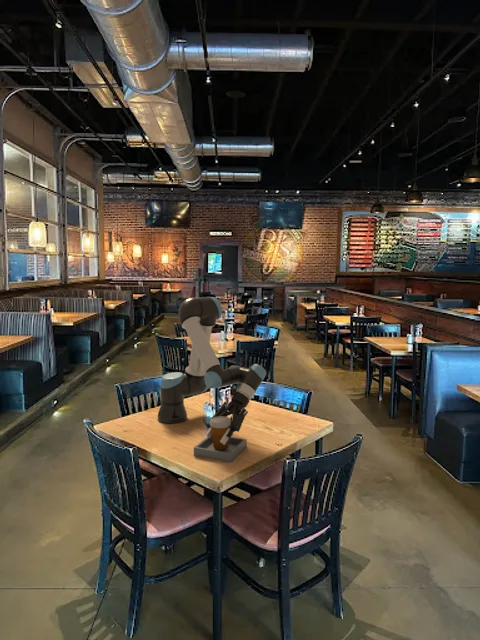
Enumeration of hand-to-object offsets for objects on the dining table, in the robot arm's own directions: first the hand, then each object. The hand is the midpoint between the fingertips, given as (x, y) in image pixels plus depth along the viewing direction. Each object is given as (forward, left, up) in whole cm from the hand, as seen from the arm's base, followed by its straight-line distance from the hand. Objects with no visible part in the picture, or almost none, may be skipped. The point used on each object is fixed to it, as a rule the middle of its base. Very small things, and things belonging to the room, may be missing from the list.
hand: (214, 439), depth 184 cm
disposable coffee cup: (+1, +3, -4) cm, 5 cm away
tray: (+1, +3, -6) cm, 7 cm away
